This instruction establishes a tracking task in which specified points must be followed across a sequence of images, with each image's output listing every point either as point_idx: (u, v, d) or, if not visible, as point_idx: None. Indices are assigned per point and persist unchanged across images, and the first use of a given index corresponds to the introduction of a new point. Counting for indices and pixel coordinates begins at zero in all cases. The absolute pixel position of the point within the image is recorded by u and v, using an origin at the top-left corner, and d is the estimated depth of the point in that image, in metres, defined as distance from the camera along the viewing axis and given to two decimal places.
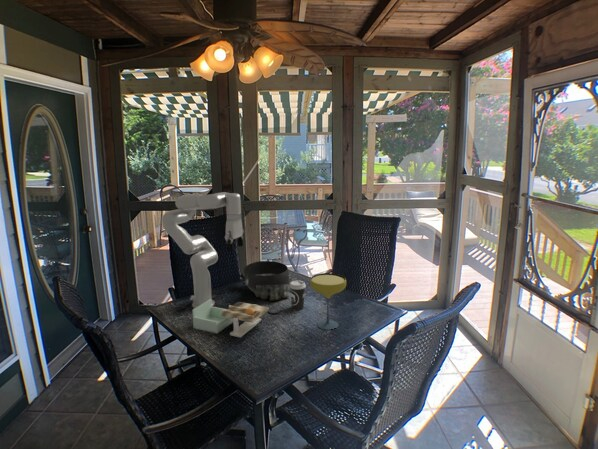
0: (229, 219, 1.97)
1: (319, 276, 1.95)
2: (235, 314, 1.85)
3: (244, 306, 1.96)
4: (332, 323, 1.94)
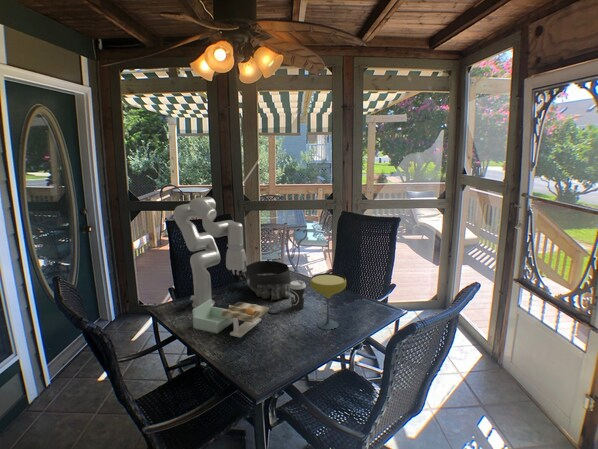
0: (241, 249, 1.90)
1: (319, 276, 1.95)
2: (235, 314, 1.85)
3: (244, 306, 1.96)
4: (332, 323, 1.94)
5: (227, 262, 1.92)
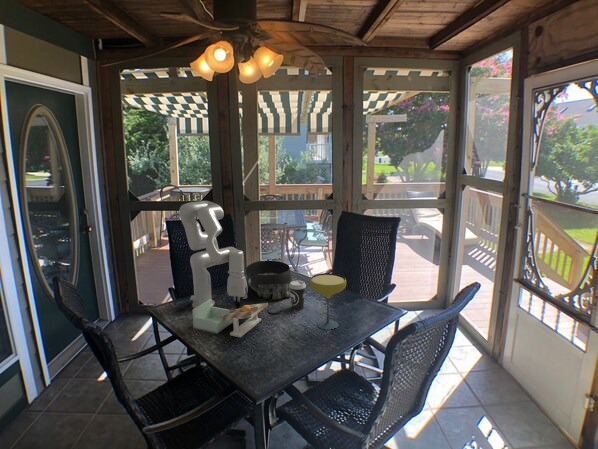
0: (242, 276, 1.93)
1: (319, 276, 1.95)
2: (234, 315, 1.85)
3: None
4: (332, 323, 1.94)
5: (228, 289, 1.95)
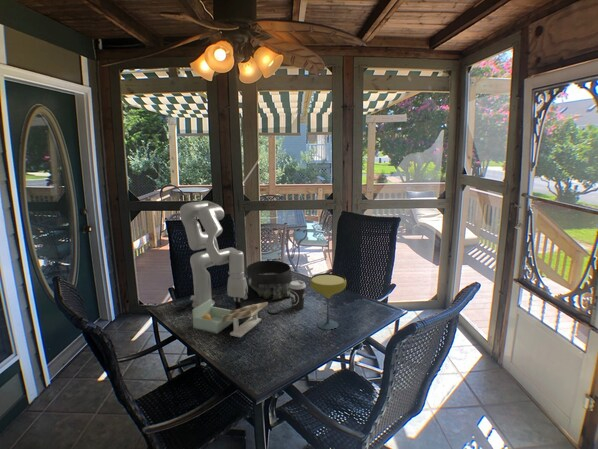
0: (242, 277, 1.93)
1: (319, 276, 1.95)
2: (234, 315, 1.85)
3: None
4: (332, 323, 1.94)
5: (228, 289, 1.95)
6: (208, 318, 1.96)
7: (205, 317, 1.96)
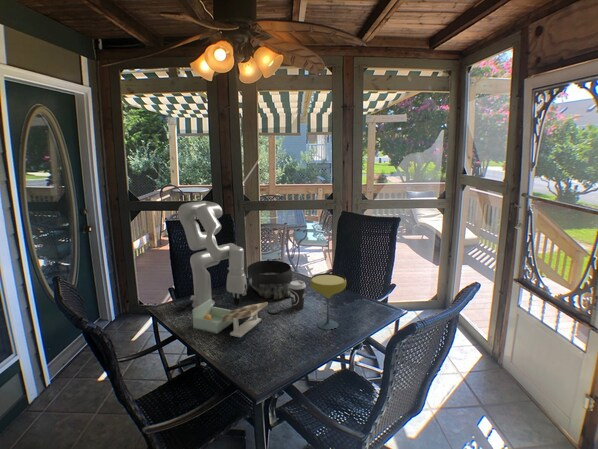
0: (242, 273, 1.93)
1: (319, 276, 1.95)
2: (234, 315, 1.85)
3: (244, 308, 1.96)
4: (332, 323, 1.94)
5: (228, 285, 1.95)
6: (209, 319, 1.96)
7: (206, 317, 1.96)
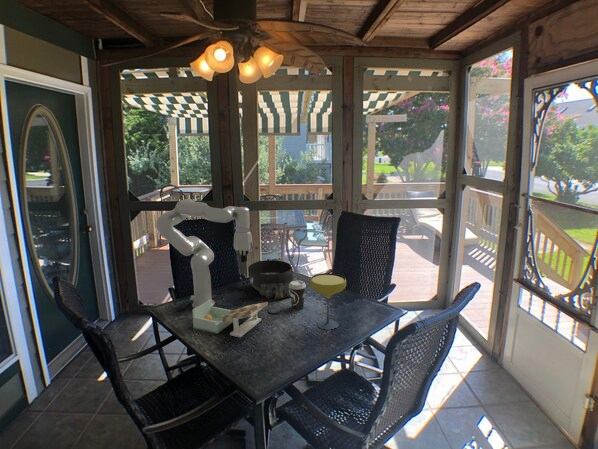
0: (248, 231, 2.07)
1: (319, 276, 1.95)
2: (234, 315, 1.85)
3: (244, 308, 1.96)
4: (332, 323, 1.94)
5: (235, 243, 2.09)
6: None
7: (207, 318, 1.95)
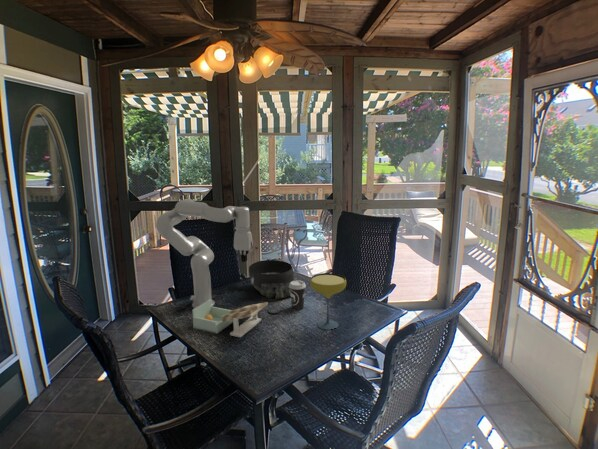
0: (248, 231, 2.07)
1: (319, 276, 1.95)
2: (234, 315, 1.85)
3: (244, 308, 1.96)
4: (332, 323, 1.94)
5: (235, 243, 2.10)
6: None
7: (208, 318, 1.95)
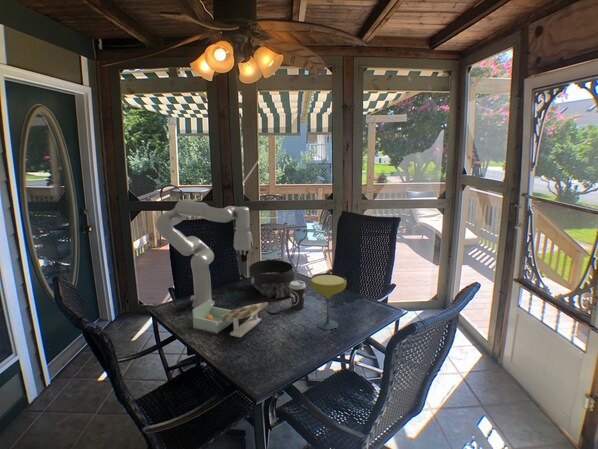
0: (248, 231, 2.07)
1: (319, 276, 1.95)
2: (234, 315, 1.85)
3: (244, 308, 1.96)
4: (332, 323, 1.94)
5: (235, 243, 2.10)
6: None
7: (208, 318, 1.95)
